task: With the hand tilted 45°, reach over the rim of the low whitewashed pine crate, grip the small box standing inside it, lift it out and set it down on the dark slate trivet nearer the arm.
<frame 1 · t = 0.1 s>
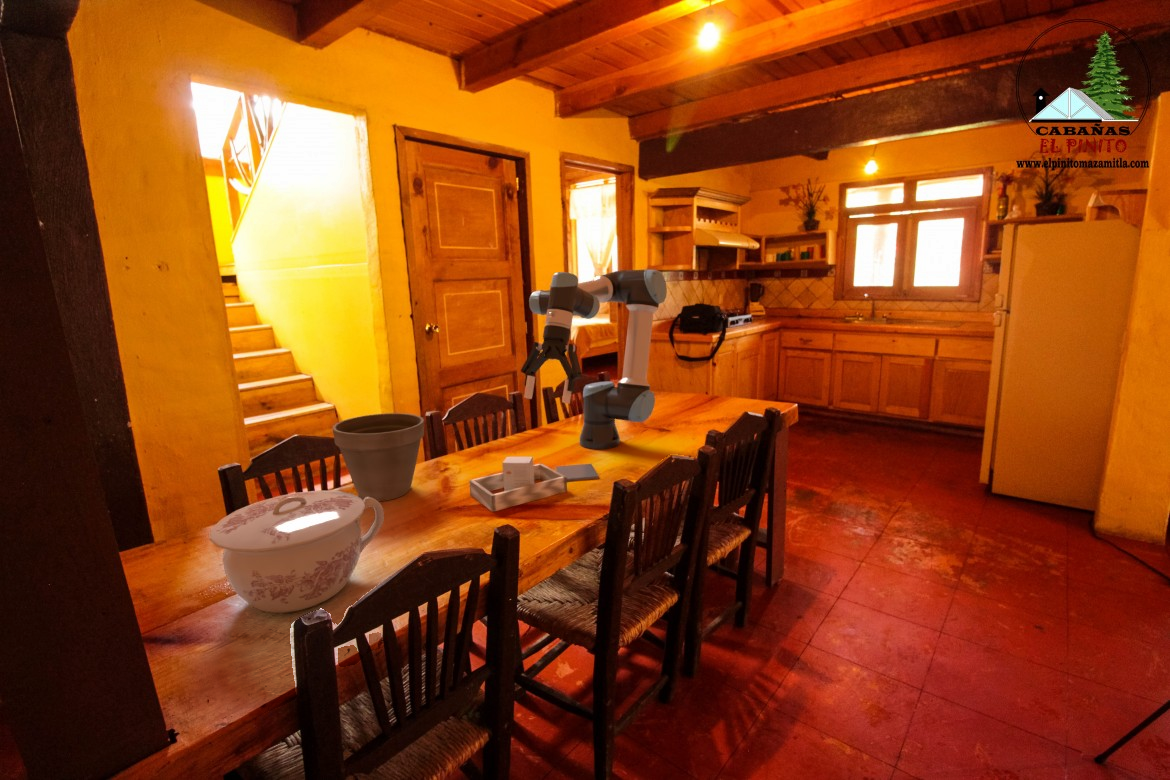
hand: (546, 400, 157), 28 cm above the table, tool tilted 20°, fingers open, 13 cm apart
small box: (519, 494, 163), resting in crate
chamber pot: (303, 593, 114), on the table
plant pot: (386, 492, 166), on the table
trivet: (576, 473, 178), on the table
crate: (519, 493, 163), on the table
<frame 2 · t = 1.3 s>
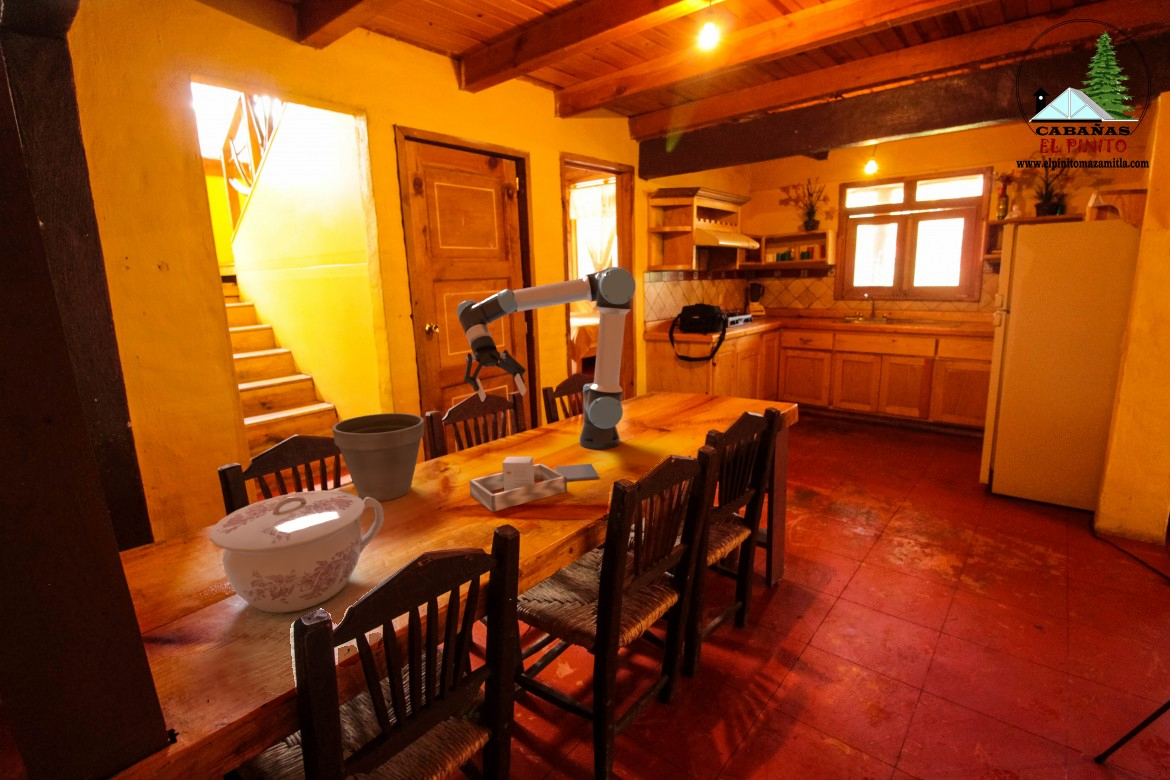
hand: (504, 395, 169), 27 cm above the table, tool tilted 45°, fingers open, 13 cm apart
nothing on the table moved.
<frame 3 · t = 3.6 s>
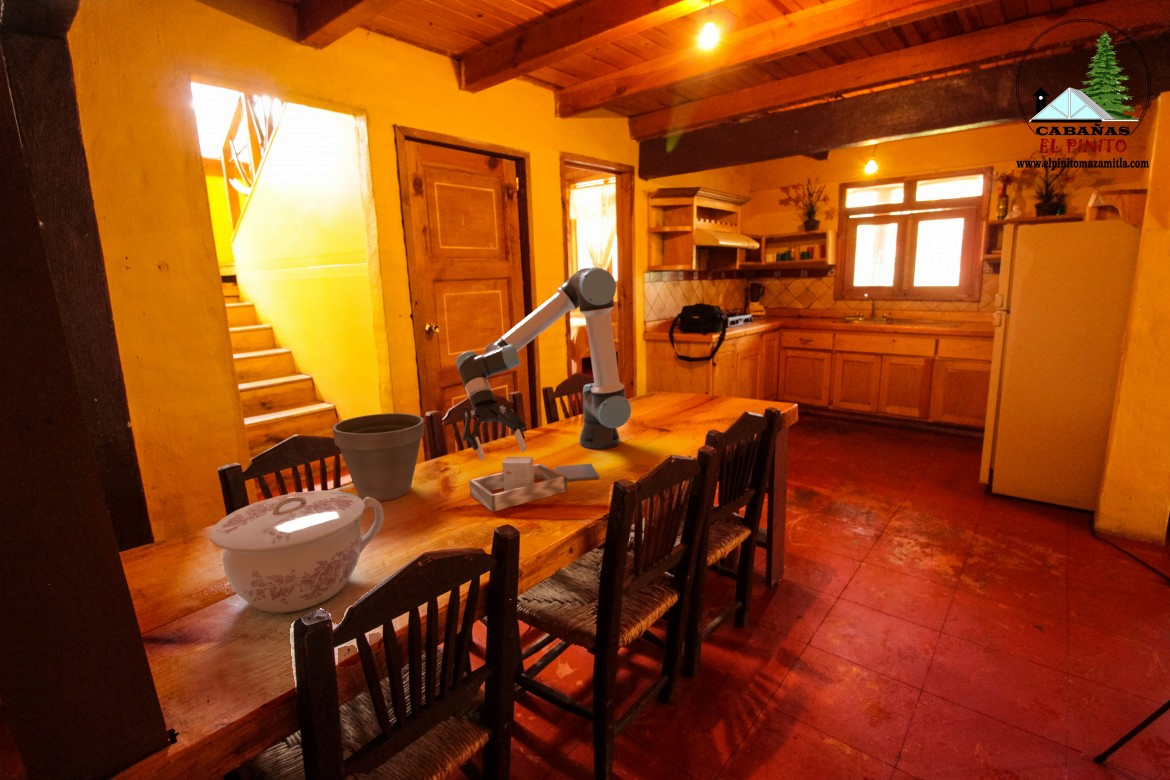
hand: (503, 453, 165), 11 cm above the table, tool tilted 45°, fingers open, 13 cm apart
nothing on the table moved.
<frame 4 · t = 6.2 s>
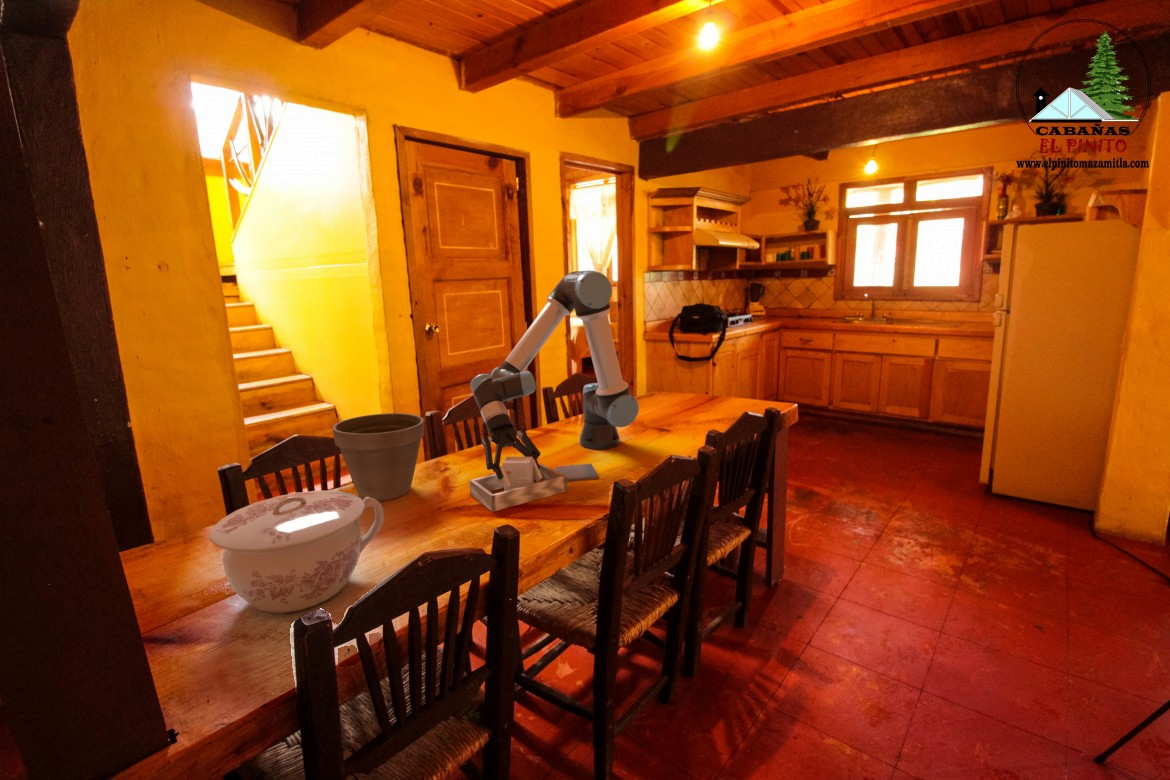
hand: (524, 483, 159), 4 cm above the table, tool tilted 45°, fingers closed on small box, 9 cm apart
small box: (519, 494, 163), resting in crate, touching gripper
everything else where it was.
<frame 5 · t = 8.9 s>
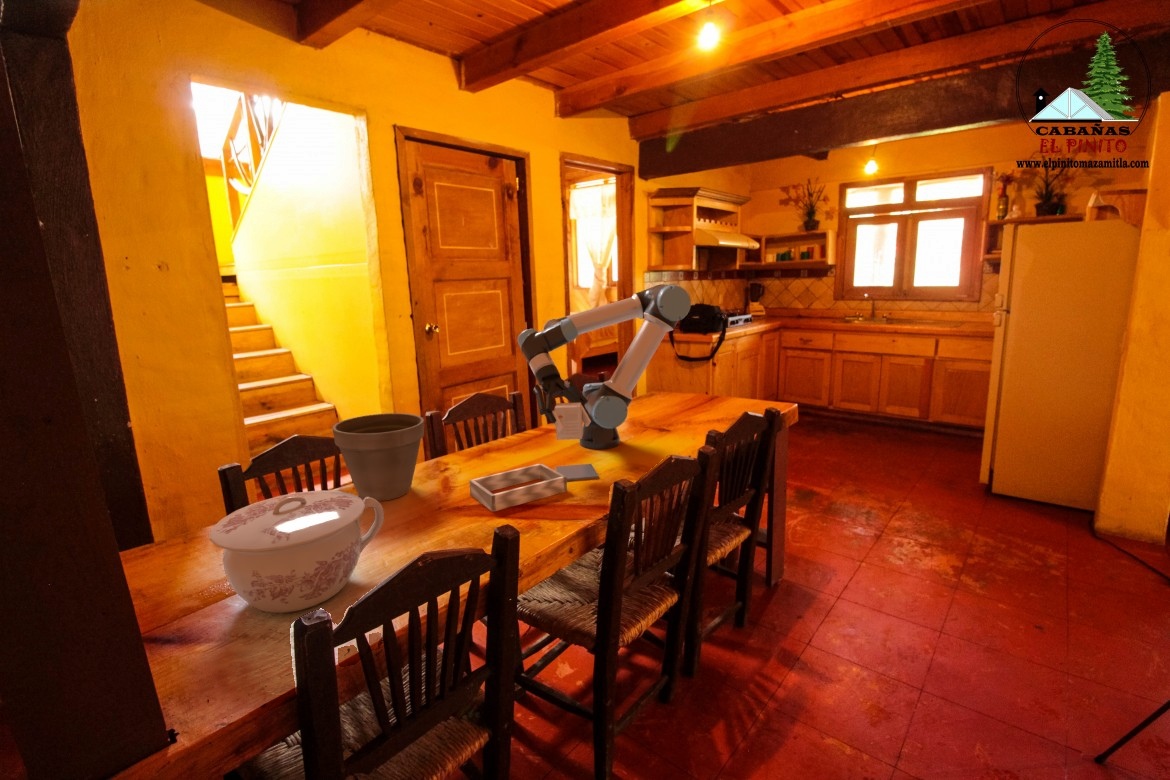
hand: (575, 427, 171), 16 cm above the table, tool tilted 45°, fingers closed on small box, 9 cm apart
small box: (570, 437, 174), point 12 cm above the table, touching gripper
everything else where it was.
when the fingers open (6 cm above the table, at t = 11.6 s): small box drops 1 cm, resting on trivet.
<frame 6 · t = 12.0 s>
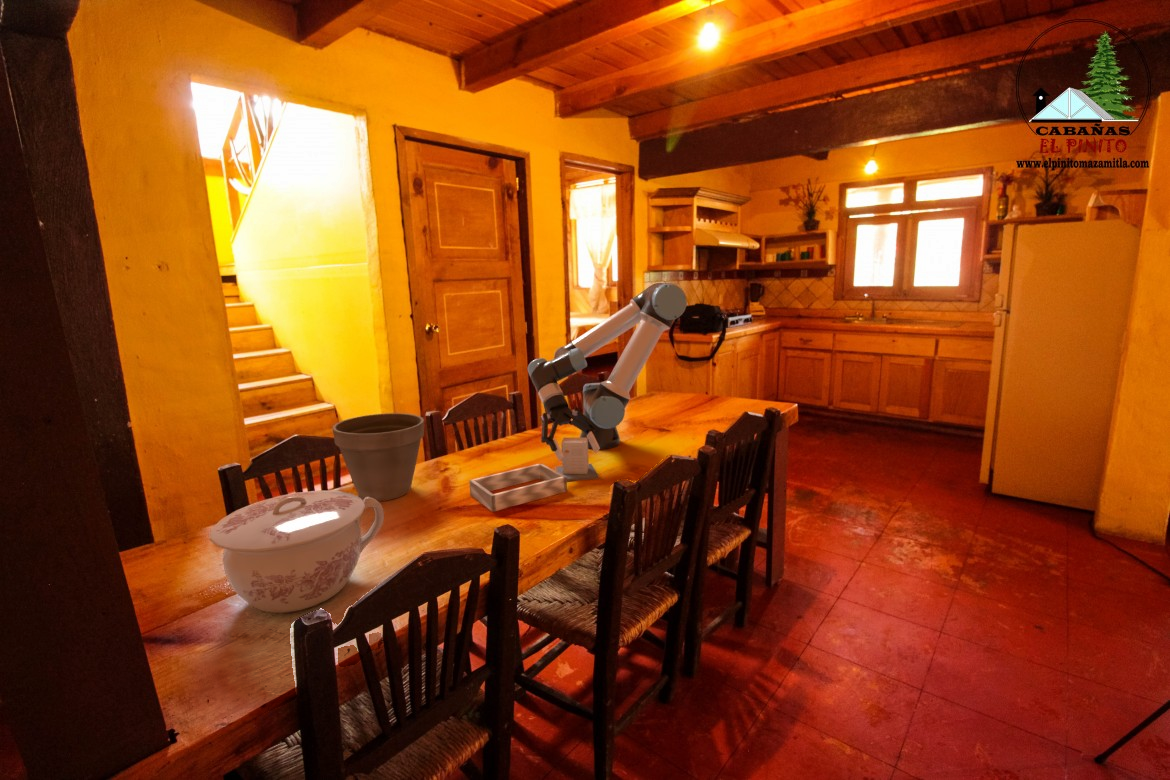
hand: (580, 454, 175), 7 cm above the table, tool tilted 45°, fingers open, 13 cm apart
small box: (575, 471, 178), point 1 cm above the table, touching trivet
everything else where it was.
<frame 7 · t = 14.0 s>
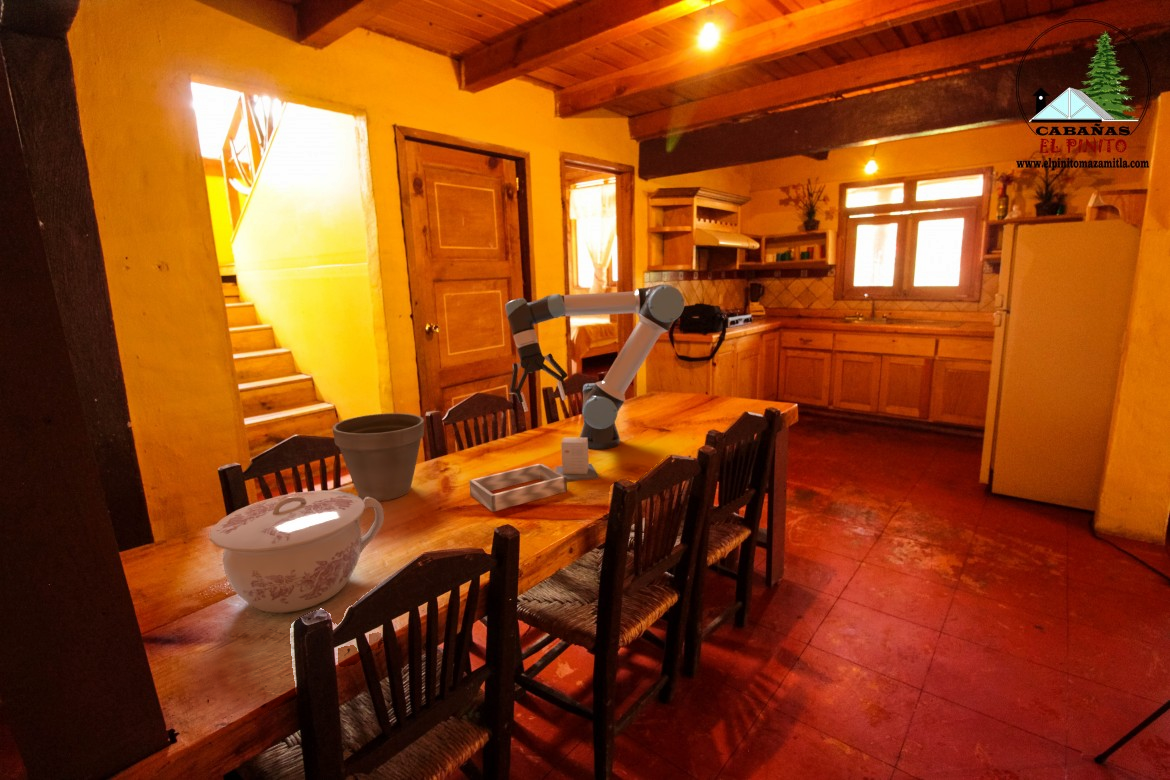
hand: (545, 405, 187), 19 cm above the table, tool tilted 20°, fingers open, 13 cm apart
nothing on the table moved.
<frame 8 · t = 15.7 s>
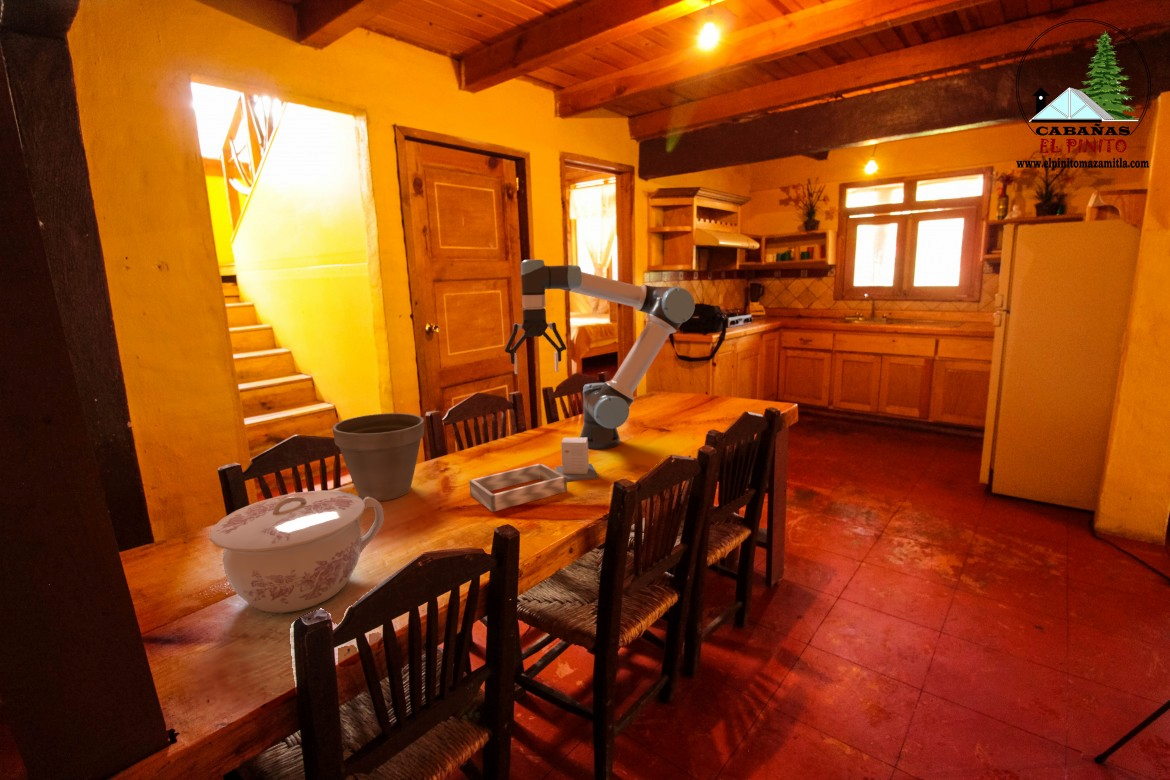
hand: (536, 372, 185), 31 cm above the table, tool pointing down, fingers open, 13 cm apart
nothing on the table moved.
at the end: small box inside the target area on the trivet (0.2 cm from its centre), point 0.6 cm above the trivet's base; small box tilted 0°; the gripper is holding nothing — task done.
